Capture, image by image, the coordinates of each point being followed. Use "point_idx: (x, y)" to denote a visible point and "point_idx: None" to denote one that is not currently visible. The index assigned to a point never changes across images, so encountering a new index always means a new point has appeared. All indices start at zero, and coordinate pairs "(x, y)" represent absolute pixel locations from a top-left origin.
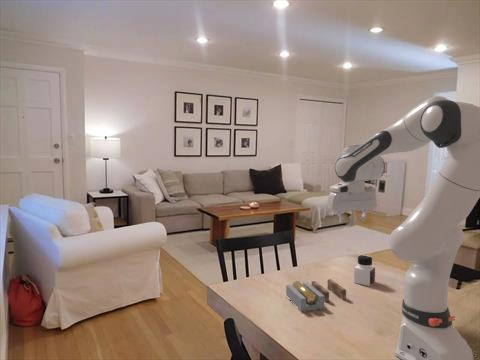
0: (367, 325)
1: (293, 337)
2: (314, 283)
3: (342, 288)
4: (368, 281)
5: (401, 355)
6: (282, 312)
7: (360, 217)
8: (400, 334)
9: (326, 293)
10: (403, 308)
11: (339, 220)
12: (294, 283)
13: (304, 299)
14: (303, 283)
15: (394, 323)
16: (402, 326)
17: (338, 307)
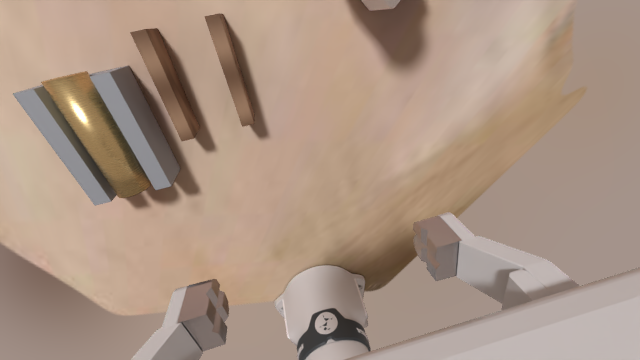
0: (264, 233)
1: (104, 277)
2: (143, 57)
3: (244, 112)
4: (371, 7)
5: (279, 312)
6: (56, 187)
7: (429, 246)
8: (285, 323)
9: (185, 138)
10: (298, 357)
11: (175, 303)
12: (48, 91)
13: (107, 200)
14: (91, 78)
15: (320, 224)
16: (288, 338)
17: (221, 160)
